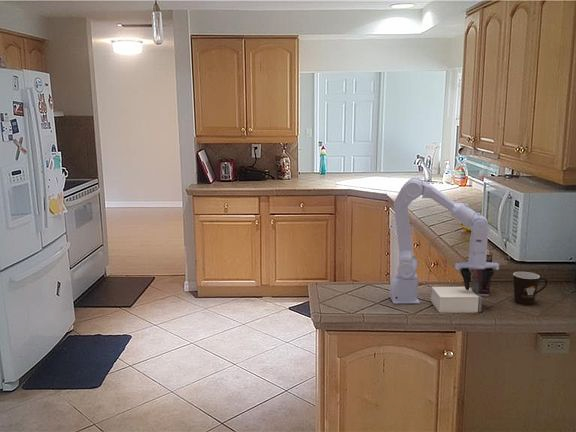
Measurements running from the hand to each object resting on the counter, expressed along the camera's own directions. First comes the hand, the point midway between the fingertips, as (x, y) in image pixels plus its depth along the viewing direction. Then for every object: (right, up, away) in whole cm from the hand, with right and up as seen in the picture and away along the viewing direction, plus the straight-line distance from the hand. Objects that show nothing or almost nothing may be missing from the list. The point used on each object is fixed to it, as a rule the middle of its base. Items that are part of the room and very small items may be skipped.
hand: (475, 289), depth 189 cm
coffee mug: (+21, -6, +5) cm, 22 cm away
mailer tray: (-6, -6, +1) cm, 9 cm away
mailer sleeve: (-7, -6, +1) cm, 10 cm away
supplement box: (+8, -4, +16) cm, 18 cm away
